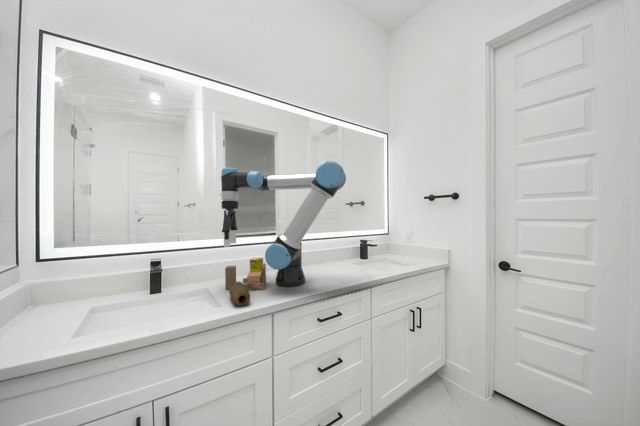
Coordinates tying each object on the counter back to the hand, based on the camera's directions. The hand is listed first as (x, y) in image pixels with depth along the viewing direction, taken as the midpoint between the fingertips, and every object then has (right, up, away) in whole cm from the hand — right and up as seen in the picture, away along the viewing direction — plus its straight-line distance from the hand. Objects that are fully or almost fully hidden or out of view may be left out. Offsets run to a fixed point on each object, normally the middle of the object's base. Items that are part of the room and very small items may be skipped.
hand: (230, 244), depth 114 cm
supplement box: (+8, -21, +17) cm, 28 cm away
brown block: (+6, -20, +1) cm, 21 cm away
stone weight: (+10, -21, -17) cm, 29 cm away
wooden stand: (+11, -21, +1) cm, 23 cm away
